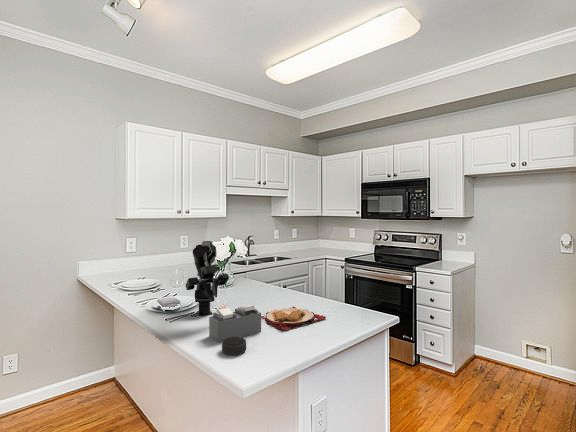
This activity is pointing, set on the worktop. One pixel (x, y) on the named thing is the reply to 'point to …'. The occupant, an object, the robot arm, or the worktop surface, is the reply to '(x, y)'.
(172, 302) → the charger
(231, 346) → the smart speaker
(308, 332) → the worktop surface
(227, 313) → the rocker
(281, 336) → the worktop surface
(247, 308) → the block
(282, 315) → the plate with food
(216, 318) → the switch box
